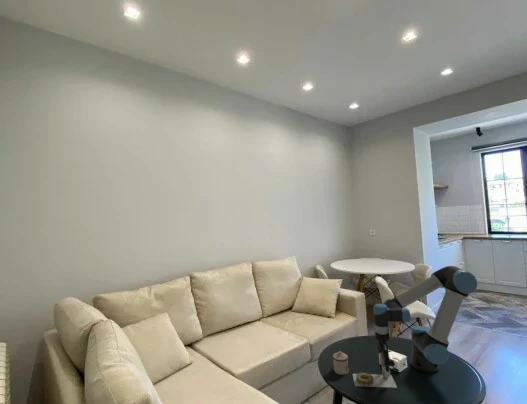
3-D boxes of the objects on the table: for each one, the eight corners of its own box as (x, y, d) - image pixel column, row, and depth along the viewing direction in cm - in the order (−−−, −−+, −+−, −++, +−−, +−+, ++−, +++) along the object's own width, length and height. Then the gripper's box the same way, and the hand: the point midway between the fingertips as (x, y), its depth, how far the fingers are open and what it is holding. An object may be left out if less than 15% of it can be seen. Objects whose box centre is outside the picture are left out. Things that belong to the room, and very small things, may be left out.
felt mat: (391, 375, 168) (391, 374, 168) (397, 388, 156) (397, 387, 156) (352, 374, 172) (352, 373, 172) (355, 386, 160) (355, 386, 160)
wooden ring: (371, 377, 167) (371, 372, 167) (375, 386, 158) (374, 382, 158) (355, 376, 168) (355, 372, 168) (358, 386, 159) (357, 381, 160)
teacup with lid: (349, 375, 170) (348, 355, 170) (334, 375, 172) (332, 355, 172) (348, 364, 182) (346, 346, 182) (333, 364, 184) (331, 345, 184)
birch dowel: (387, 376, 167) (385, 351, 167) (388, 379, 164) (386, 354, 164) (382, 376, 167) (380, 351, 168) (383, 379, 164) (381, 354, 165)
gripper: (371, 323, 179) (373, 359, 178) (379, 341, 155) (382, 382, 154) (383, 323, 178) (386, 359, 177) (394, 341, 154) (397, 382, 153)
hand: (384, 370), depth 166 cm, fingers open, 12 cm apart
